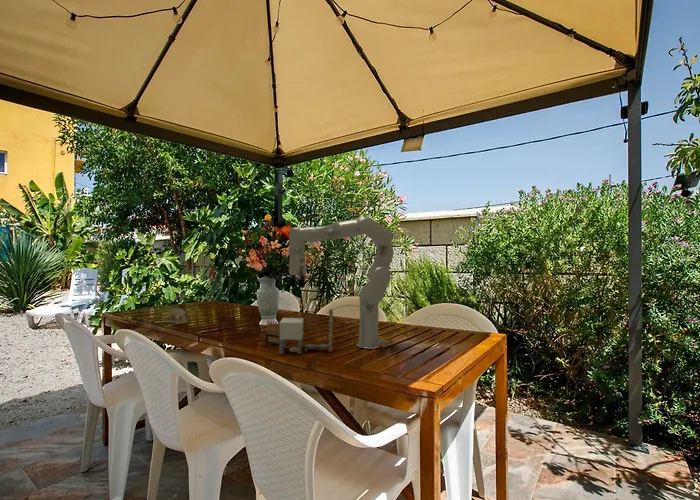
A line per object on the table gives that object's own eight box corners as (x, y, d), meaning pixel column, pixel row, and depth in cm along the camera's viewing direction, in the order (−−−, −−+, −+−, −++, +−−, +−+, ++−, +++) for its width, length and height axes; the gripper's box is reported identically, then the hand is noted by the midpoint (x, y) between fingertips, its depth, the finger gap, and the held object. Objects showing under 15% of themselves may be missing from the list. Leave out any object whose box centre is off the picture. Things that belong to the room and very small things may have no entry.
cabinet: (304, 348, 187) (305, 318, 187) (303, 354, 174) (303, 322, 175) (282, 347, 187) (283, 317, 187) (279, 354, 174) (279, 322, 174)
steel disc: (300, 350, 183) (300, 347, 183) (299, 353, 178) (299, 350, 178) (289, 350, 183) (289, 347, 183) (288, 353, 178) (288, 350, 178)
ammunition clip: (265, 343, 196) (265, 320, 196) (267, 342, 197) (268, 319, 197) (281, 346, 190) (281, 322, 190) (283, 345, 192) (284, 321, 192)
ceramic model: (191, 321, 257) (191, 306, 257) (182, 324, 246) (182, 308, 246) (172, 320, 258) (172, 305, 259) (161, 323, 247) (162, 308, 247)
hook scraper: (331, 350, 184) (332, 308, 184) (331, 352, 179) (332, 310, 179) (305, 350, 183) (305, 308, 184) (304, 352, 178) (305, 310, 179)
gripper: (312, 252, 182) (312, 287, 182) (296, 252, 197) (296, 285, 196) (297, 252, 178) (298, 288, 178) (282, 252, 192) (282, 286, 192)
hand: (297, 287), depth 187 cm, fingers open, 9 cm apart
